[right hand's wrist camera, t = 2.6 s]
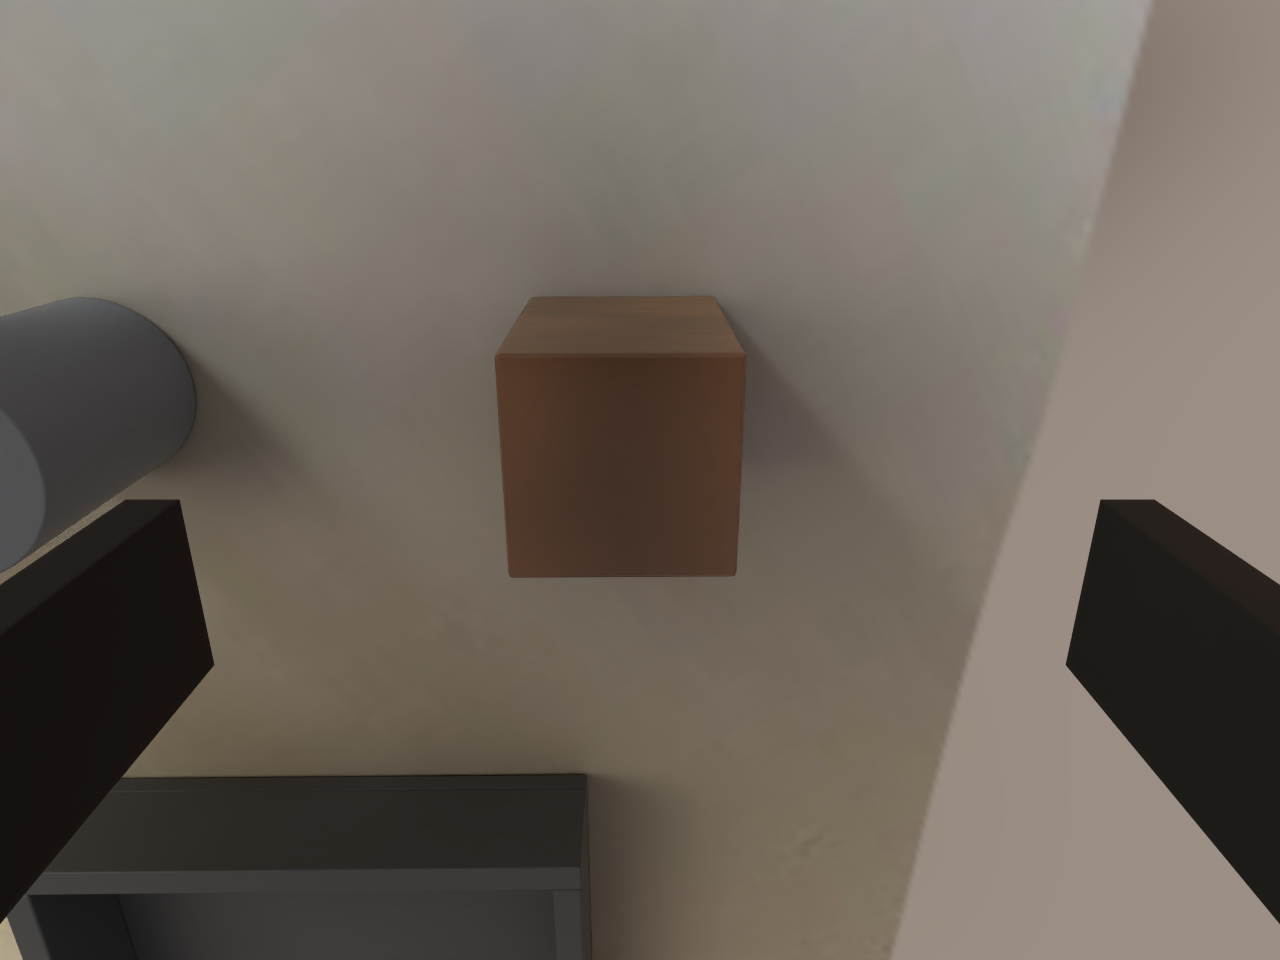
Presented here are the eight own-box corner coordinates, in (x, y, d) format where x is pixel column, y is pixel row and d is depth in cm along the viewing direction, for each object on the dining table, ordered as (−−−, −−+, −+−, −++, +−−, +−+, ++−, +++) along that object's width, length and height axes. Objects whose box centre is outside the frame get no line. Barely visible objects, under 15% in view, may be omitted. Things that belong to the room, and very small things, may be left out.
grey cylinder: (37, 471, 22) (-161, 583, 17) (-12, 297, 20) (-251, 356, 15) (211, 470, 22) (72, 581, 17) (176, 297, 21) (9, 355, 15)
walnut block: (538, 469, 22) (508, 579, 17) (530, 296, 21) (493, 353, 15) (709, 468, 22) (736, 577, 17) (715, 295, 21) (747, 353, 15)
